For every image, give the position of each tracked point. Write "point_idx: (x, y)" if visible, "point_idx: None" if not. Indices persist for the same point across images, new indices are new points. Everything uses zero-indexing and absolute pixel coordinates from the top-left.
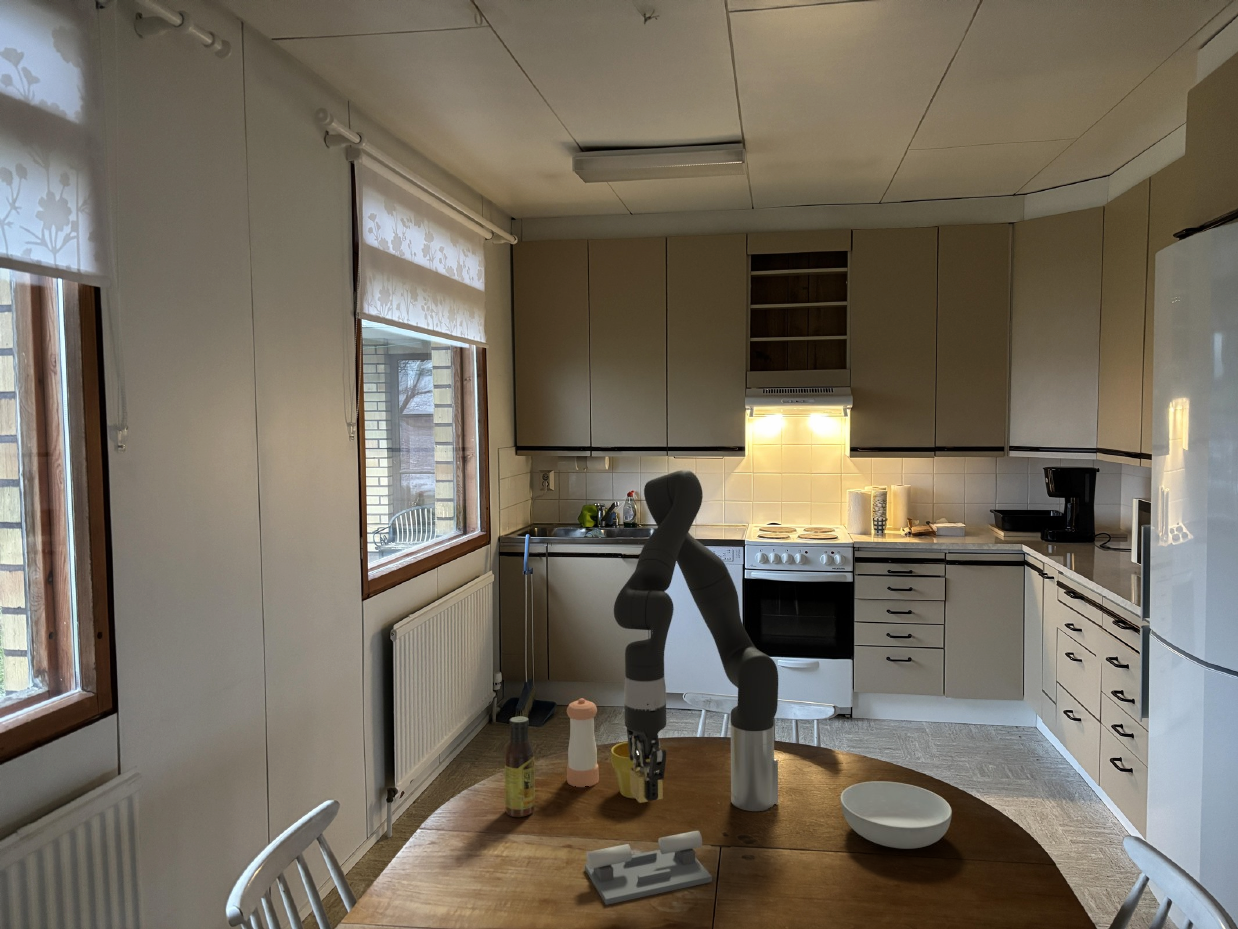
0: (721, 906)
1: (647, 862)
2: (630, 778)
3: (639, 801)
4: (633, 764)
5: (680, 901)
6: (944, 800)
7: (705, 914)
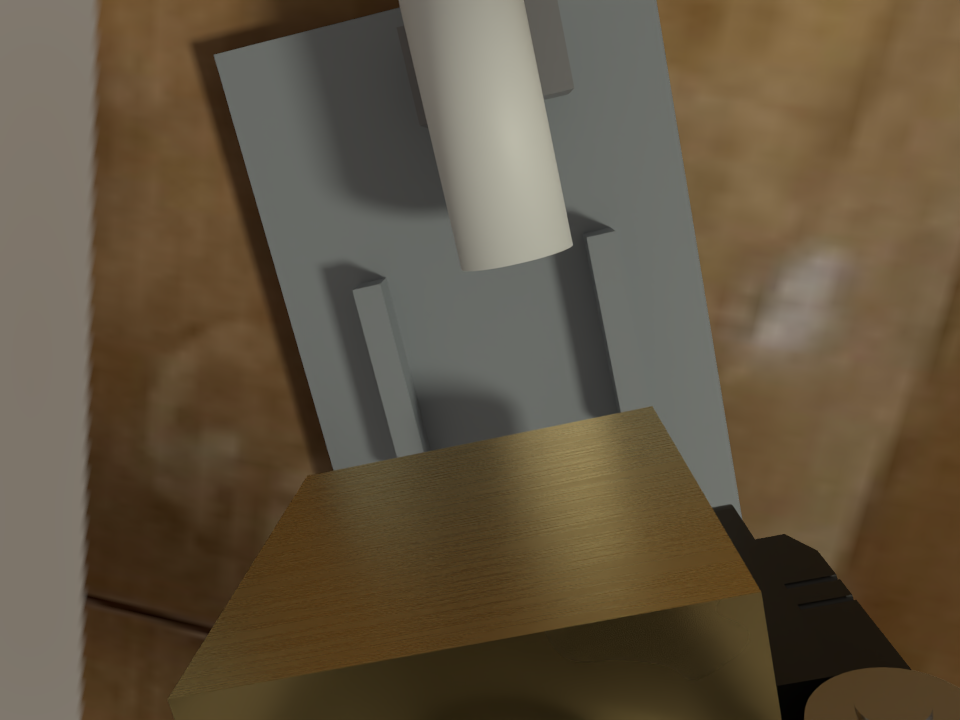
0: (180, 652)
1: (593, 368)
2: (690, 491)
3: (306, 486)
4: (884, 711)
5: (235, 475)
6: None
7: (116, 568)
